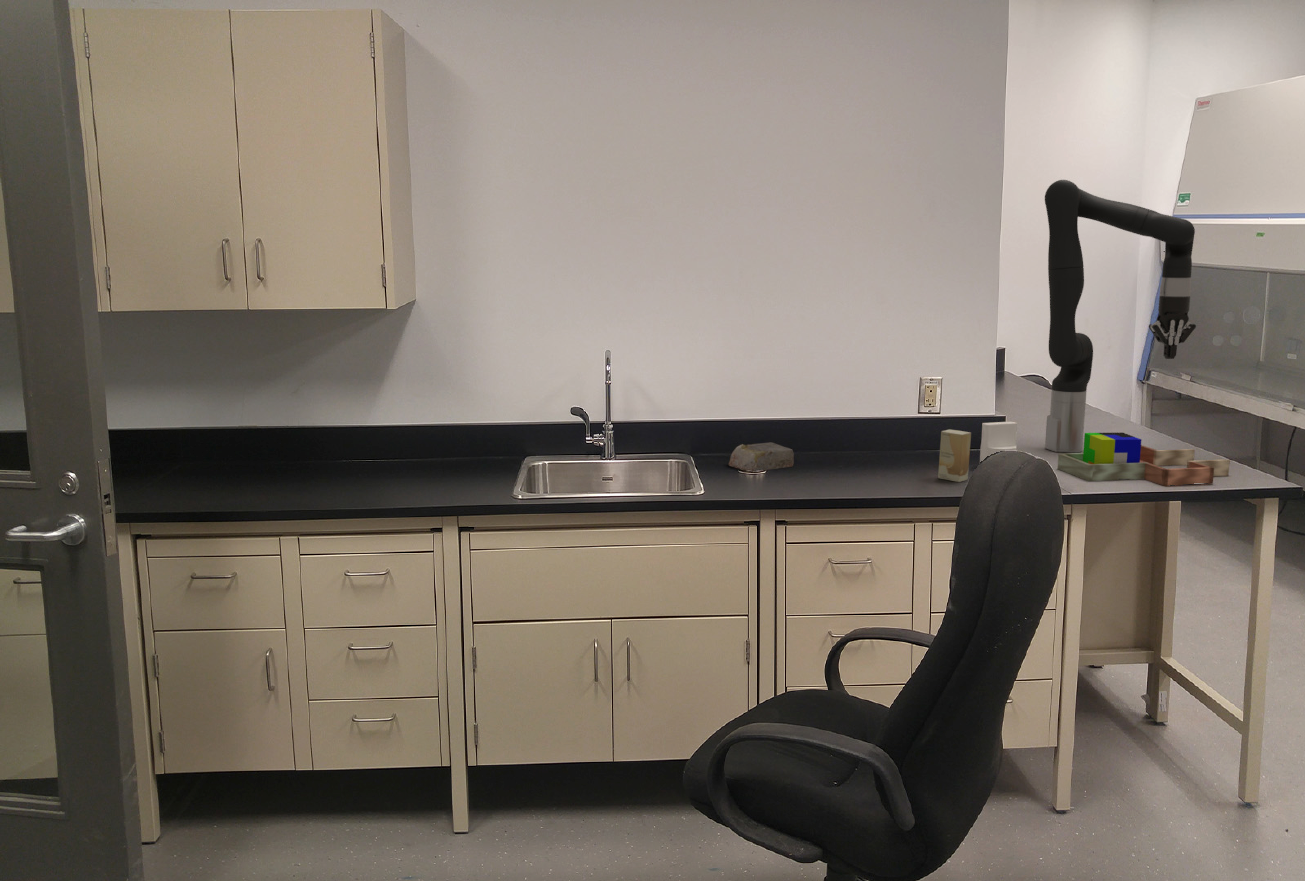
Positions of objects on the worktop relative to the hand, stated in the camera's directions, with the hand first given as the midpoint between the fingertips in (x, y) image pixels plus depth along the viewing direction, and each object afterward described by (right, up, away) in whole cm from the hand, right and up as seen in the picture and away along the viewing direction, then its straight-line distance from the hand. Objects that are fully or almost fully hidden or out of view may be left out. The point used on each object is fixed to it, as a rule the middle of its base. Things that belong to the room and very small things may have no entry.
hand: (1169, 358), depth 292 cm
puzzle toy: (-24, -31, -18) cm, 43 cm away
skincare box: (-66, -32, -23) cm, 77 cm away
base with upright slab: (-50, -30, -10) cm, 59 cm away
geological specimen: (-112, -30, -5) cm, 116 cm away
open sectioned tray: (-15, -31, -16) cm, 38 cm away
